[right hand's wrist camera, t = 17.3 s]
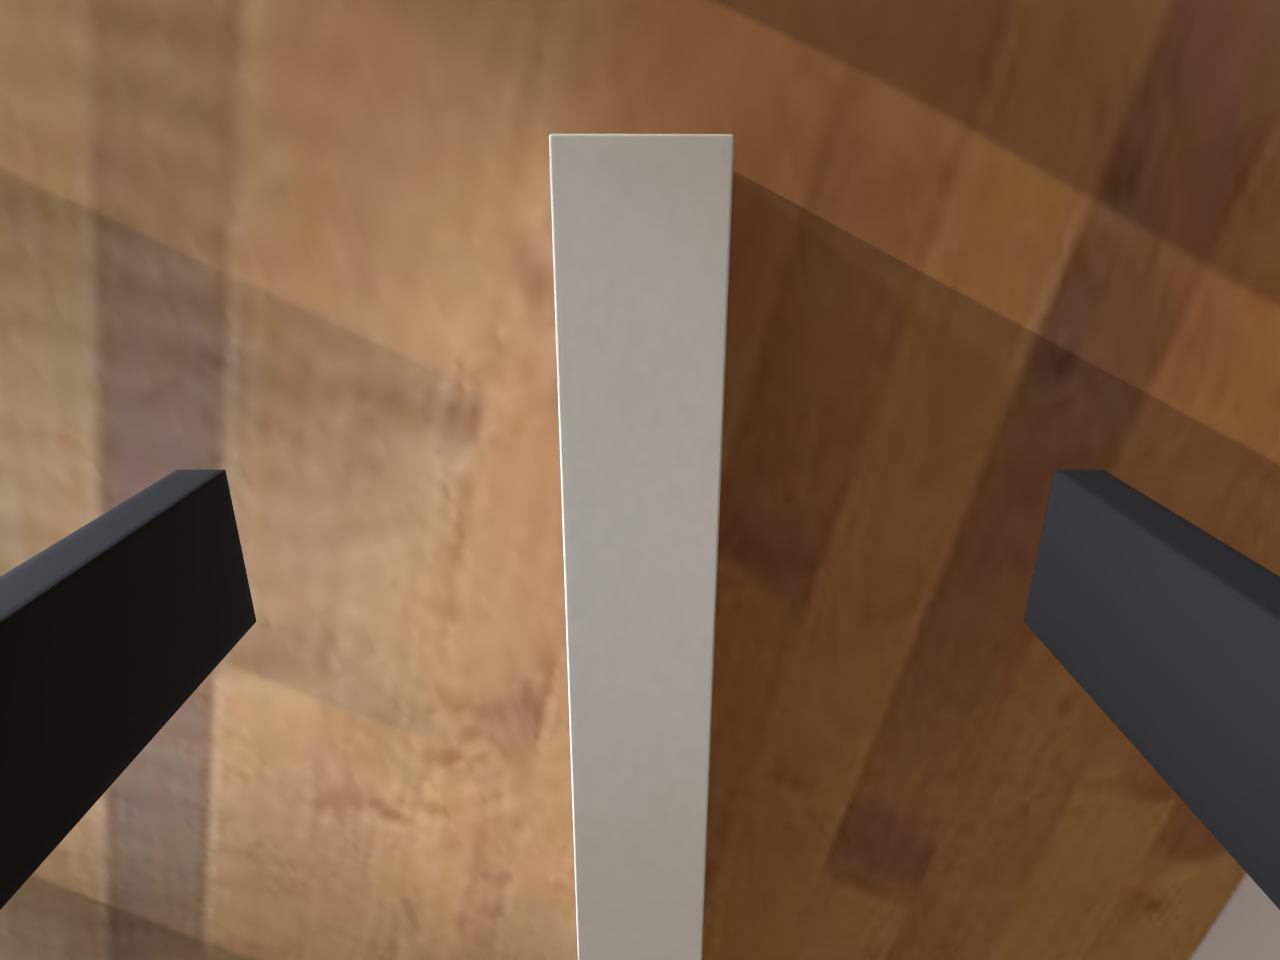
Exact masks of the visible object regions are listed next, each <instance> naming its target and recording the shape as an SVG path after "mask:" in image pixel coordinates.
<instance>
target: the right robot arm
mask: <svg viewBox="0 0 1280 960" xmlns="http://www.w3.org/2000/svg"><path fill="white" fill-rule="evenodd" d="M255 622H256V618H255V613H254V608H253V603H252V598H251V593H250V589H249V584H248V579H247V574H246V569H245V564H244V559H243V554H242V549H241V545H240V540H239V535H238V530H237V525H236V520H235V515H234V510H233V505H232V500H231V496H230V491H229V486H228V481H227V476H226V471H225V470H176V471H174V472H172V473H171V474H169V475H168V476H166V477H164V478H163V479H161V480H159V481H158V482H156V483H154V484H153V485H151V486H149V487H148V488H146V489H144V490H143V491H141V492H140V493H138V494H136V495H135V496H133V497H131V498H130V499H128V500H126V501H125V502H123V503H121V504H120V505H118V506H116V507H115V508H113V509H111V510H110V511H108V512H107V513H105V514H103V515H102V516H100V517H98V518H97V519H95V520H93V521H92V522H90V523H88V524H87V525H85V526H83V527H82V528H80V529H79V530H77V531H75V532H74V533H72V534H70V535H69V536H67V537H65V538H64V539H62V540H60V541H59V542H57V543H55V544H54V545H52V546H50V547H49V548H47V549H46V550H44V551H42V552H41V553H39V554H37V555H36V556H34V557H32V558H31V559H29V560H27V561H26V562H24V563H22V564H21V565H19V566H18V567H16V568H14V569H13V570H11V571H9V572H8V573H6V574H4V575H3V576H1V577H0V909H1V908H2V907H3V906H4V905H5V904H6V903H7V902H8V900H9V899H10V898H11V897H12V896H13V895H14V894H15V893H16V891H17V890H18V889H19V888H20V887H21V886H22V885H23V884H24V882H25V881H26V880H27V879H28V878H29V877H30V876H31V875H32V873H33V872H34V871H35V870H36V869H37V868H38V867H39V866H40V864H41V863H42V862H43V861H44V860H45V859H46V858H47V857H48V855H49V854H50V853H51V852H52V851H53V850H54V849H55V847H56V846H57V845H58V844H59V843H60V842H61V841H62V840H63V838H64V837H65V836H66V835H67V834H68V833H69V832H70V831H71V829H72V828H73V827H74V826H75V825H76V824H77V823H78V822H79V820H80V819H81V818H82V817H83V816H84V815H85V814H86V813H87V811H88V810H89V809H90V808H91V807H92V806H93V805H94V804H95V802H96V801H97V800H98V799H99V798H100V797H101V796H102V795H103V793H104V792H105V791H106V790H107V789H108V788H109V787H110V786H111V784H112V783H113V782H114V781H115V780H116V779H117V778H118V777H119V775H120V774H121V773H122V772H123V771H124V770H125V769H126V767H127V766H128V765H129V764H130V763H131V762H132V761H133V760H134V758H135V757H136V756H137V755H138V754H139V753H140V752H141V751H142V749H143V748H144V747H145V746H146V745H147V744H148V743H149V742H150V740H151V739H152V738H153V737H154V736H155V735H156V734H157V733H158V731H159V730H160V729H161V728H162V727H163V726H164V725H165V724H166V722H167V721H168V720H169V719H170V718H171V717H172V716H173V715H174V713H175V712H176V711H177V710H178V709H179V708H180V707H181V706H182V704H183V703H184V702H185V701H186V700H187V699H188V698H189V697H190V695H191V694H192V693H193V692H194V691H195V690H196V689H197V687H198V686H199V685H200V684H201V683H202V682H203V681H204V680H205V678H206V677H207V676H208V675H209V674H210V673H211V672H212V671H213V669H214V668H215V667H216V666H217V665H218V664H219V663H220V662H221V660H222V659H223V658H224V657H225V656H226V655H227V654H228V653H229V651H230V650H231V649H232V648H233V647H234V646H235V645H236V644H237V642H238V641H239V640H240V639H241V638H242V637H243V636H244V635H245V633H246V632H247V631H248V630H249V629H250V628H251V627H252V626H253V624H254V623H255ZM1024 622H1025V623H1026V624H1027V626H1028V627H1029V628H1030V629H1031V630H1032V631H1033V632H1034V633H1035V635H1036V636H1037V637H1038V638H1039V639H1040V640H1041V641H1042V642H1043V644H1044V645H1045V646H1046V647H1047V648H1048V649H1049V650H1050V651H1051V653H1052V654H1053V655H1054V656H1055V657H1056V658H1057V659H1058V660H1059V662H1060V663H1061V664H1062V665H1063V666H1064V667H1065V668H1066V669H1067V671H1068V672H1069V673H1070V674H1071V675H1072V676H1073V677H1074V678H1075V680H1076V681H1077V682H1078V683H1079V684H1080V685H1081V686H1082V687H1083V689H1084V690H1085V691H1086V692H1087V693H1088V694H1089V695H1090V697H1091V698H1092V699H1093V700H1094V701H1095V702H1096V703H1097V704H1098V706H1099V707H1100V708H1101V709H1102V710H1103V711H1104V712H1105V713H1106V715H1107V716H1108V717H1109V718H1110V719H1111V720H1112V721H1113V722H1114V724H1115V725H1116V726H1117V727H1118V728H1119V729H1120V730H1121V731H1122V733H1123V734H1124V735H1125V736H1126V737H1127V738H1128V739H1129V740H1130V742H1131V743H1132V744H1133V745H1134V746H1135V747H1136V748H1137V749H1138V751H1139V752H1140V753H1141V754H1142V755H1143V756H1144V757H1145V758H1146V760H1147V761H1148V762H1149V763H1150V764H1151V765H1152V766H1153V767H1154V769H1155V770H1156V771H1157V772H1158V773H1159V774H1160V775H1161V777H1162V778H1163V779H1164V780H1165V781H1166V782H1167V783H1168V784H1169V786H1170V787H1171V788H1172V789H1173V790H1174V791H1175V792H1176V793H1177V795H1178V796H1179V797H1180V798H1181V799H1182V800H1183V801H1184V802H1185V804H1186V805H1187V806H1188V807H1189V808H1190V809H1191V810H1192V811H1193V813H1194V814H1195V815H1196V816H1197V817H1198V818H1199V819H1200V820H1201V822H1202V823H1203V824H1204V825H1205V826H1206V827H1207V828H1208V829H1209V831H1210V832H1211V833H1212V834H1213V835H1214V836H1215V837H1216V838H1217V840H1218V841H1219V842H1220V843H1221V844H1222V845H1223V846H1224V847H1225V849H1226V850H1227V851H1228V852H1229V853H1230V854H1231V855H1232V857H1233V858H1234V859H1235V860H1236V861H1237V862H1238V863H1239V864H1240V866H1241V867H1242V868H1243V869H1244V870H1245V871H1246V872H1247V873H1248V875H1249V876H1250V877H1251V878H1252V879H1253V880H1254V881H1255V882H1256V884H1257V885H1258V886H1259V887H1260V888H1261V889H1262V890H1263V891H1264V893H1265V894H1266V895H1267V896H1268V897H1269V898H1270V899H1271V900H1272V901H1273V903H1274V904H1275V905H1276V906H1277V907H1278V908H1279V909H1280V577H1279V576H1277V575H1276V574H1274V573H1272V572H1271V571H1269V570H1267V569H1266V568H1264V567H1262V566H1261V565H1259V564H1258V563H1256V562H1254V561H1253V560H1251V559H1249V558H1248V557H1246V556H1244V555H1243V554H1241V553H1239V552H1238V551H1236V550H1234V549H1233V548H1231V547H1230V546H1228V545H1226V544H1225V543H1223V542H1221V541H1220V540H1218V539H1216V538H1215V537H1213V536H1211V535H1210V534H1208V533H1206V532H1205V531H1203V530H1201V529H1200V528H1198V527H1197V526H1195V525H1193V524H1192V523H1190V522H1188V521H1187V520H1185V519H1183V518H1182V517H1180V516H1178V515H1177V514H1175V513H1173V512H1172V511H1170V510H1169V509H1167V508H1165V507H1164V506H1162V505H1160V504H1159V503H1157V502H1155V501H1154V500H1152V499H1150V498H1149V497H1147V496H1145V495H1144V494H1142V493H1140V492H1139V491H1137V490H1136V489H1134V488H1132V487H1131V486H1129V485H1127V484H1126V483H1124V482H1122V481H1121V480H1119V479H1117V478H1116V477H1114V476H1112V475H1111V474H1109V473H1108V472H1106V471H1104V470H1055V471H1054V476H1053V481H1052V486H1051V491H1050V496H1049V500H1048V505H1047V510H1046V515H1045V520H1044V525H1043V530H1042V535H1041V540H1040V545H1039V549H1038V554H1037V559H1036V564H1035V569H1034V574H1033V579H1032V584H1031V589H1030V593H1029V598H1028V603H1027V608H1026V613H1025V618H1024Z"/></svg>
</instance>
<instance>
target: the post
mask: <svg viewBox="0 0 1280 960" xmlns="http://www.w3.org/2000/svg"><path fill="white" fill-rule="evenodd" d="M549 152H550V181H551V209H552V237H553V266H554V294H555V322H556V351H557V379H558V407H559V436H560V464H561V492H562V521H563V549H564V577H565V606H566V634H567V662H568V691H569V719H570V747H571V775H572V804H573V832H574V860H575V889H576V917H577V945H578V960H702V949H703V924H704V898H705V873H706V847H707V822H708V796H709V771H710V745H711V720H712V694H713V669H714V643H715V618H716V592H717V567H718V541H719V516H720V490H721V465H722V439H723V414H724V388H725V363H726V338H727V312H728V287H729V261H730V236H731V210H732V185H733V159H734V135H732V134H551V135H550V136H549Z"/></svg>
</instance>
